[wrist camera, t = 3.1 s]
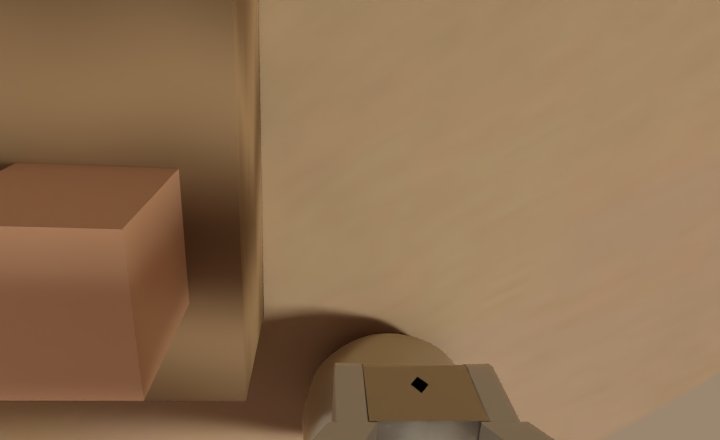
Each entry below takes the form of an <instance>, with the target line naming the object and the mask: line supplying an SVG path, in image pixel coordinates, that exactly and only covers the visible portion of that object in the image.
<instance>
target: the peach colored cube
mask: <svg viewBox="0 0 720 440" xmlns="http://www.w3.org/2000/svg"><path fill="white" fill-rule="evenodd" d="M188 305H189V293H188V280H187V268H186V255H185V242H184V229H183V217H182V204H181V191H180V179H179V169H177V168H148V167H119V166H90V165H61V164H32V163H15V164H13V165H11V166H9V167H7V168H5V169H3V170H1V171H0V401H144V399H145V397H146V395H147V393H148V391H149V389H150V386H151V384H152V382H153V380H154V378H155V376H156V374H157V371H158V369H159V367H160V365H161V363H162V361H163V359H164V357H165V354H166V352H167V350H168V348H169V346H170V344H171V342H172V339H173V337H174V335H175V333H176V331H177V329H178V327H179V324H180V322H181V320H182V318H183V316H184V314H185V312H186V309H187V307H188Z"/></svg>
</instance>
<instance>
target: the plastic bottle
mask: <svg viewBox="0 0 720 440" xmlns="http://www.w3.org/2000/svg"><path fill="white" fill-rule="evenodd" d="M335 363H360V364H361V365H362V363H371V364H405V365H454V363H453V362H452V360H451V359H450V358H449V357H448V356H447V355H446V354H445V353H444V352H443V351H442V350H440V349H438V348H437V347H435V346H434V345H432V344H431V343H428V342H426V341H423V340H421V339H418V338H415V337H411V336H407V335H402V334H395V333H381V334H372V335H368V336H365V337H361V338H358V339H356V340H354V341H352V342H350V343H348V344H346V345H344V346H342V347H341V348H339V349H338V350H336V351H335V352H334V353H332V354H331V355H330V356H329V357H328V358H327V359H326V360H325V361H324V362H323V363H322V364H321V365H320V367H319V368H318V370H317V372H316V373H315V375H314V377H313V380H312V383H311V386H310V389H309V392H308V395H307V399H306V402H305V405H304V408H303V413H302V430H303V440H312V439H313V438H314V437H315V436H316V435H317V434H318V433H319V431H320V430H321V429H322V428H323V427H324V426H325V425H326V424H327V423H328V422H332V402H333V380H334V366H335Z"/></svg>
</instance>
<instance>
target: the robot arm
mask: <svg viewBox="0 0 720 440" xmlns="http://www.w3.org/2000/svg"><path fill="white" fill-rule="evenodd" d="M312 440H554V439H553V438H551V437H550V436H548V435H547V434H545V433H544V432H542V431H541V430H539V429H538V428H536V427H535V426H533V425H532V424H530V423H529V422H520V420H519V418H518V416H517V414H516V412H515V410H514V408H513V406H512V404H511V402H510V400H509V398H508V396H507V394H506V392H505V390H504V388H503V386H502V384H501V382H500V380H499V378H498V376H497V374H496V373H495V371H494V369H493V367H492V366H491V365H490V364H463V365H405V364H371V363H362V365H361V364H360V363H335V366H334V380H333V402H332V422H328V423H327V424H326V425H325V426H324V427H323V428H322V429H321V430H320V431H319V433H318V434H317V435H316V436H315V437H314V438H313V439H312Z"/></svg>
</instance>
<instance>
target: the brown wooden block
mask: <svg viewBox="0 0 720 440" xmlns="http://www.w3.org/2000/svg"><path fill="white" fill-rule="evenodd" d="M15 163H32V164H61V165H90V166H119V167H148V168H177V169H179V179H180V191H181V204H182V217H183V229H184V242H185V255H186V268H187V280H188V293H189V305H188V307H187V309H186V312H185V314H184V316H183V318H182V320H181V322H180V324H179V327H178V329H177V331H176V333H175V335H174V337H173V339H172V342H171V344H170V346H169V348H168V350H167V352H166V354H165V357H164V359H163V361H162V363H161V365H160V367H159V369H158V371H157V374H156V376H155V378H154V380H153V382H152V384H151V386H150V389H149V391H148V393H147V395H146V397H145V399H144V401H246V398H247V394H248V389H249V384H250V379H251V374H252V369H253V365H254V360H255V355H256V350H257V345H258V340H259V336H260V331H261V326H262V321H263V316H264V295H263V237H262V179H261V122H260V64H259V7H258V0H0V171H1V170H3V169H5V168H7V167H9V166H11V165H13V164H15Z"/></svg>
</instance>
